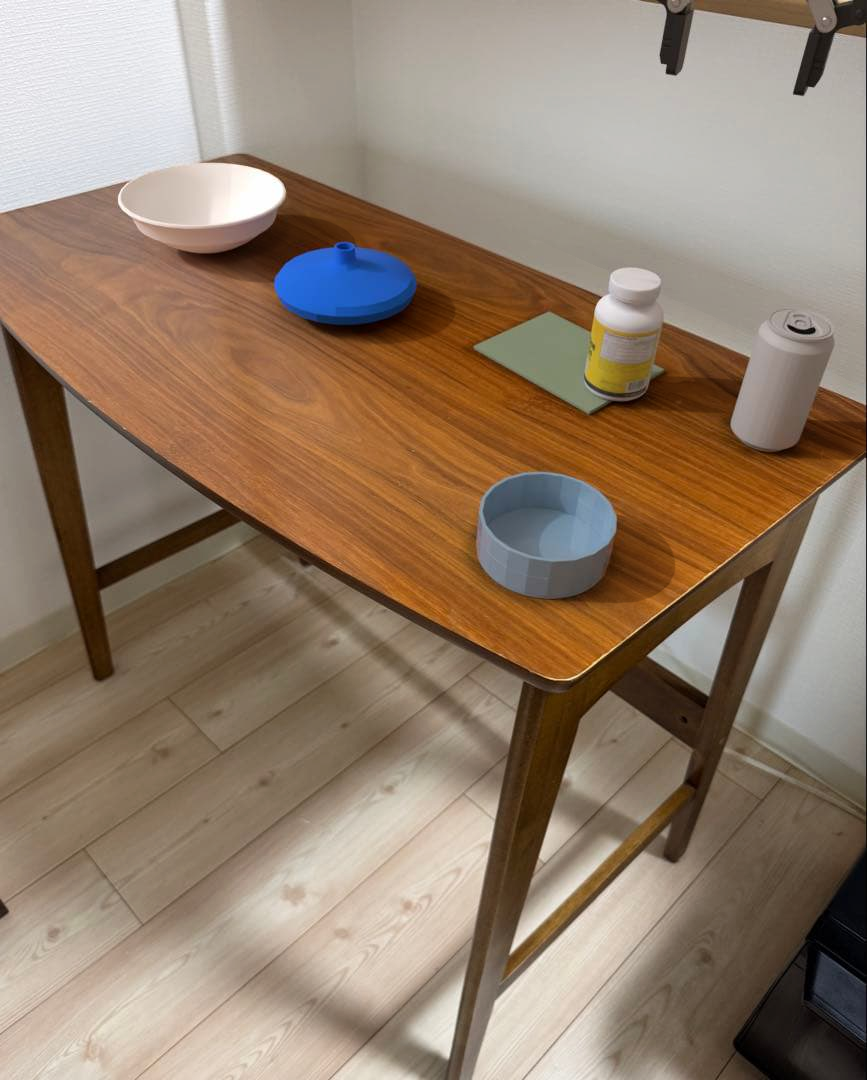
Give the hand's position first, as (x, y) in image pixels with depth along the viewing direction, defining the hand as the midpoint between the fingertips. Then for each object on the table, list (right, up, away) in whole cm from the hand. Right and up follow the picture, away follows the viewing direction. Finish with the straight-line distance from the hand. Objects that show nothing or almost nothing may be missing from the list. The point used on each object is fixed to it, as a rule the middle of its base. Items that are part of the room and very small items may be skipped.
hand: (735, 82), depth 61 cm
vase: (-30, -5, +41) cm, 51 cm away
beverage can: (+11, -21, +25) cm, 34 cm away
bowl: (-48, +6, +52) cm, 71 cm away
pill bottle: (-2, -16, +30) cm, 34 cm away
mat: (-6, -12, +34) cm, 36 cm away
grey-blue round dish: (-12, -32, +12) cm, 36 cm away
